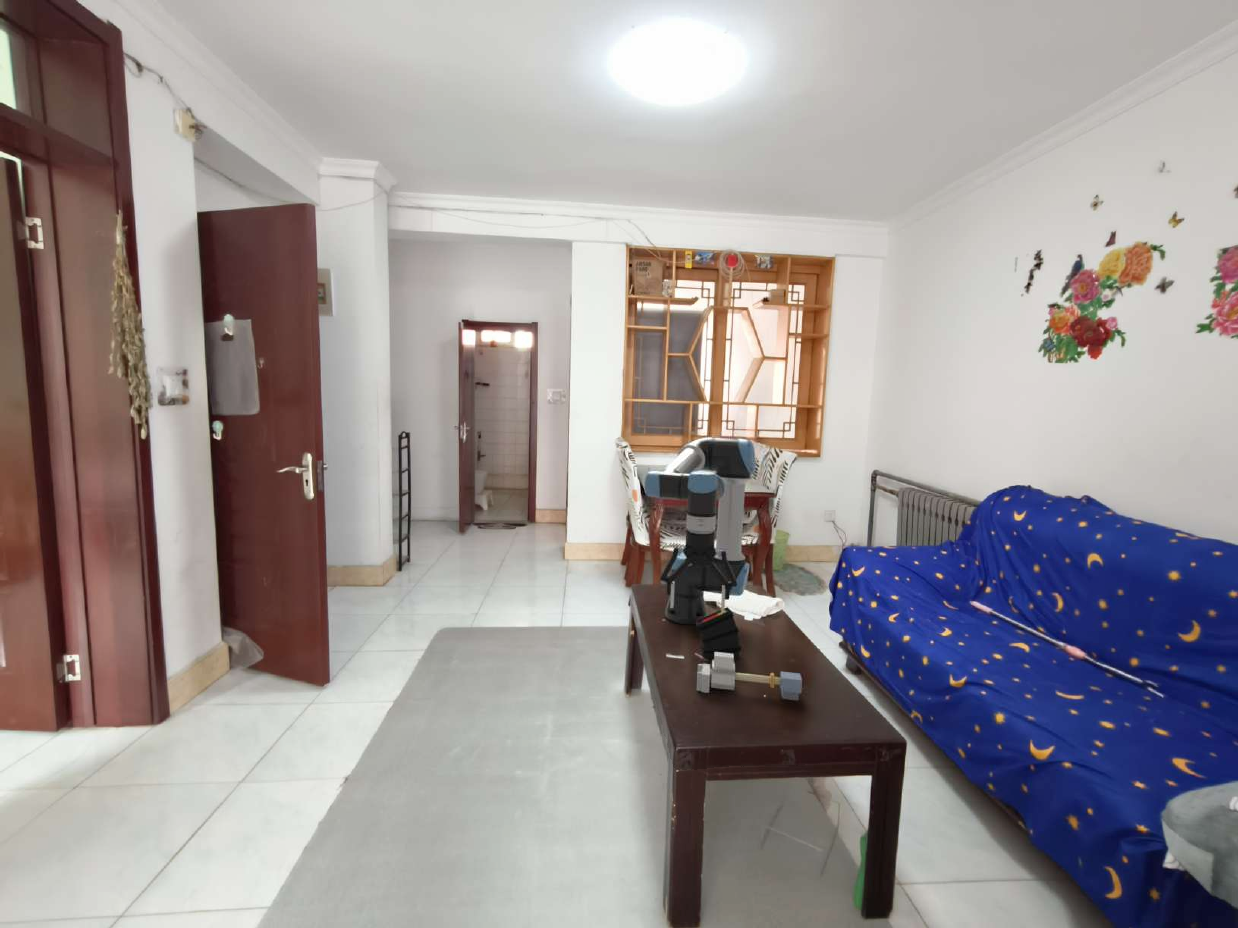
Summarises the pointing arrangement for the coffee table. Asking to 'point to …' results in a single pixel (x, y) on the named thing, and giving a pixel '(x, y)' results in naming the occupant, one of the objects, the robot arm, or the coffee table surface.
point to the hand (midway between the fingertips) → (697, 608)
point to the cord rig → (787, 681)
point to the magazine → (719, 634)
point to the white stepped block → (723, 671)
